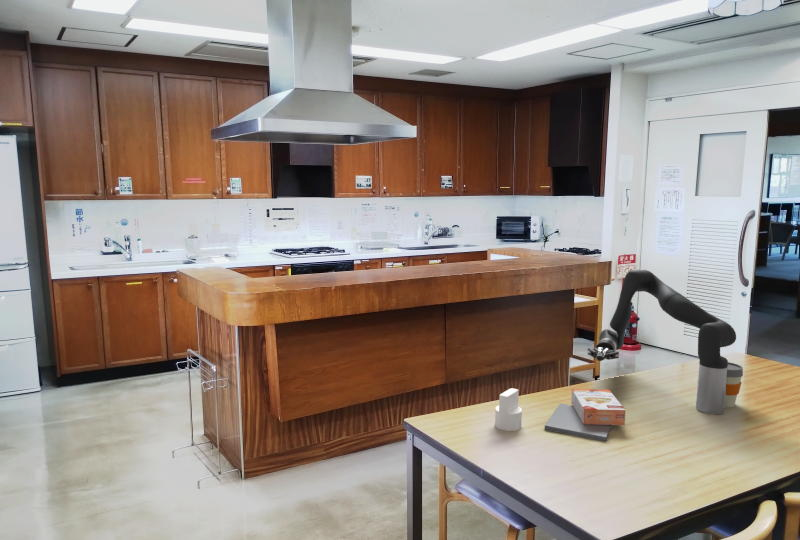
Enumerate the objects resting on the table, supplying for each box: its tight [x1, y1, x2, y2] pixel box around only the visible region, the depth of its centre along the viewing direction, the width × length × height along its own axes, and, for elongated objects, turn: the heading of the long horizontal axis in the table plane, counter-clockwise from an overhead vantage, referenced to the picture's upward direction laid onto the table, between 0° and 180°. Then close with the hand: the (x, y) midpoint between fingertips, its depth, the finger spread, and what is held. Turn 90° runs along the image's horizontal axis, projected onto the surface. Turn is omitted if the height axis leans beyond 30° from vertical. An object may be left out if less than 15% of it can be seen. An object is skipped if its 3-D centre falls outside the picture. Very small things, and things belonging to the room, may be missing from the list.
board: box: [544, 402, 613, 442], centre depth 206 cm, size 20×24×2 cm
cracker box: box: [570, 388, 626, 426], centre depth 211 cm, size 14×6×21 cm
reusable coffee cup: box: [724, 361, 744, 408], centre depth 226 cm, size 13×13×15 cm
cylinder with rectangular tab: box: [494, 387, 523, 432], centre depth 203 cm, size 9×9×12 cm
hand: (599, 358), depth 236 cm, fingers closed
